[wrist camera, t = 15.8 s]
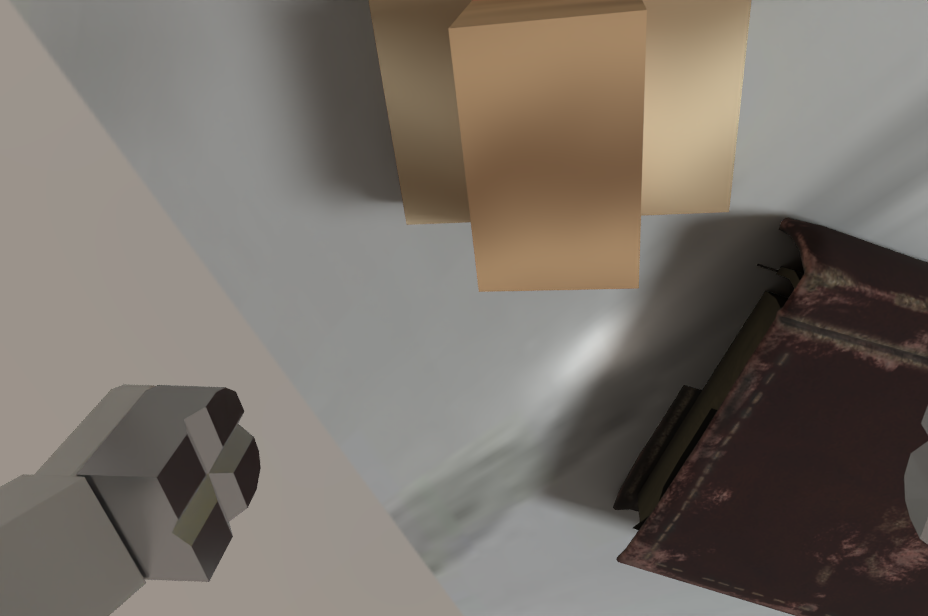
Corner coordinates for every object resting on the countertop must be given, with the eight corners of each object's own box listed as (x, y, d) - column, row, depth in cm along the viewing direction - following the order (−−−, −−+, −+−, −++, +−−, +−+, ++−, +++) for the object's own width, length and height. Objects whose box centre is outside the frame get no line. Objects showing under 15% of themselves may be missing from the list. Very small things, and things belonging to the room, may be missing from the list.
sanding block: (473, -2, 22) (448, 28, 17) (634, -18, 21) (647, 10, 17) (495, 224, 26) (478, 291, 22) (629, 219, 25) (638, 288, 21)
